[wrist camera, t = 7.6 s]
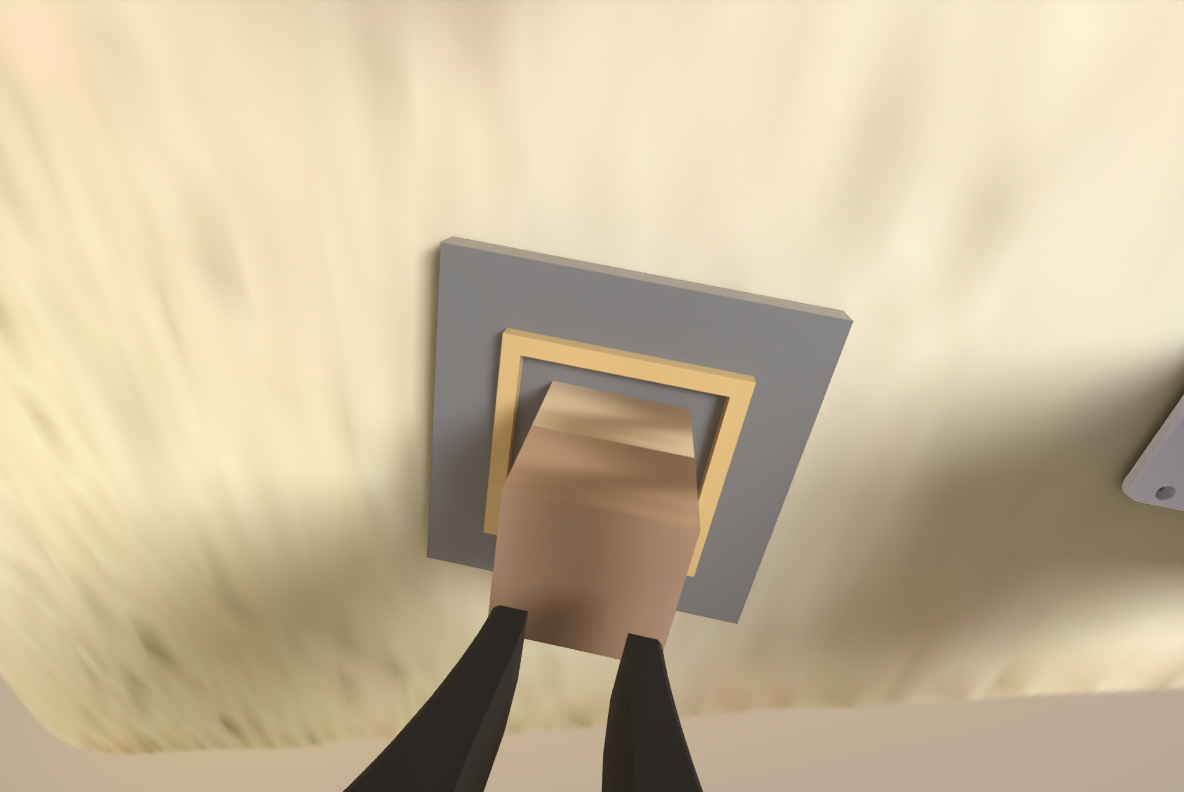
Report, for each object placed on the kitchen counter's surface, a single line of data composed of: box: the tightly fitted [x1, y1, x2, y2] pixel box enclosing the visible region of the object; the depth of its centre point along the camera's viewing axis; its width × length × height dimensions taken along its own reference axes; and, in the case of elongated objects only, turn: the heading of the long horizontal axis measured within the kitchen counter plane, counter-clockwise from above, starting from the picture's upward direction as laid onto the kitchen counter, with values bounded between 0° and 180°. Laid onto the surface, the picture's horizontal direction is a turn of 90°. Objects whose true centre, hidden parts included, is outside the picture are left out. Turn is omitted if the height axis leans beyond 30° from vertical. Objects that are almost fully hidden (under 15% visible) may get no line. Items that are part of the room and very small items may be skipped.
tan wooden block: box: [488, 381, 701, 660], centre depth 16 cm, size 4×4×6 cm
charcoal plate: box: [427, 237, 853, 624], centre depth 19 cm, size 12×12×2 cm
